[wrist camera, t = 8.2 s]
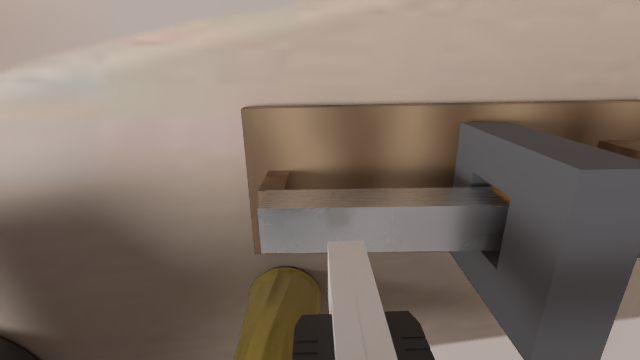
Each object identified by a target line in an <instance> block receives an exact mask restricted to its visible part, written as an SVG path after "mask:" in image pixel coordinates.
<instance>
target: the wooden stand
mask: <svg viewBox="0 0 640 360" xmlns="http://www.w3.org/2000/svg"><path fill="white" fill-rule="evenodd" d="M241 115H242V126H243V136H244V146H245V156H246V166H247V177H248V187H249V197H250V207H251V218H252V228H253V238H254V248H255V254H293V253H261V244H260V232H259V221H258V210H257V208H258V206H259V204H260V202H261V200H262V198H263V195H264V193H265V191H266V190H312V189H383V188H453V181H454V173H455V166H456V158H457V150H458V142H459V135H460V127H461V123H468V122H511V123H514V124H517V125H521V126H524V127H528V128H531V129H535V130H538V131H542V132H545V133H548V134H552V135H555V136H559V137H562V138H566V139H569V140H573V141H576V142H579V143H583V144H586V145H590V146H593V147H597V148H600V149H604V150H607V151H610V152H614V153H617V154H621V155H624V156H628V157H631V158H634V159H638V160H640V100H615V101H556V102H498V103H439V104H381V105H323V106H264V107H244V108H242V109H241ZM421 252H449V251H421ZM367 253H376V252H367ZM637 257H638V258H640V251H639V253H638V256H637Z"/></svg>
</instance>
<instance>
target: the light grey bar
mask: <svg viewBox="0 0 640 360" xmlns="http://www.w3.org/2000/svg"><path fill="white" fill-rule="evenodd" d="M510 199H511V198H510V197H509V196H507V195H506V194H504V193H503V192H501V191H500V190H499V189H497V188H496V187H494V186H493V185H491V184H490V185H489V187H453V188H383V189H312V190H266V191H265V193H264V195H263V198H262V200H261V202H260V204H259V206H258V208H257V210H258V221H259V232H260V244H261V253H328V241H364V244H365V247H366V251H367V252H421V251H500V250H501V245H502V240H503V235H504V230H505V225H506V220H507V215H508V210H509V204H510Z"/></svg>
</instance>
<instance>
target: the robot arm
mask: <svg viewBox="0 0 640 360" xmlns="http://www.w3.org/2000/svg"><path fill="white" fill-rule="evenodd" d="M328 302H329V314H312V315H301V317H300V319H299V320H298V322H297V324H296V325H295V328H294V341H293V356H292V360H435V359H434V356H433V354H432V352H431V351H430V347H429V344H428V342H427V340H426V339H425V335H424V332H423V330H422V327H421V325H420V323H419V322H418V321H417V320H416V318H415V317H414V316H413V315H412V314H411V313H410V312H409V311H392V312H384V310H383V307H382V303H381V300H380V296H379V293H378V289H377V286H376V282H375V279H374V275H373V272H372V268H371V265H370V261H369V258H368V254H367V251H366V247H365V244H364V241H328ZM0 360H37V359H36V358H35V357H33V356H32V355H31V354H29V353H28V352H26V351H25V350H23V349H22V348H20V347H18V346H16V345H14V344H13V343H11V342H8V341H6V340H4V339H1V338H0Z"/></svg>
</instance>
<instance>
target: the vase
mask: <svg viewBox="0 0 640 360" xmlns="http://www.w3.org/2000/svg"><path fill="white" fill-rule="evenodd" d="M249 296H250V297H249V303H248V307H247V310H246V314H245V317H244V322H243V326H242V330H241V335H240V338H239V342H238V346H237V349H236V353H235V357H234V360H292V356H293V341H294V328H295V325H296V324H297V322H298V320H299V319H300V317H301V315H312V314H320V307H321V301H322V298H321V291H320V288H319V287H318V285H317V283H316V282H315V281H314V279H313V278H312V277H311V276H309V275H308V274H306V273H305V272H303V271H301V270H298V269H294V268H288V267H281V268H275V269H272V270H269V271H267V272H265V273H264V274H262V275H261V276H259V277H258V278H257V279H256V280H255V282H254V283H253V285H252V287H251V290H250V295H249Z"/></svg>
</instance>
